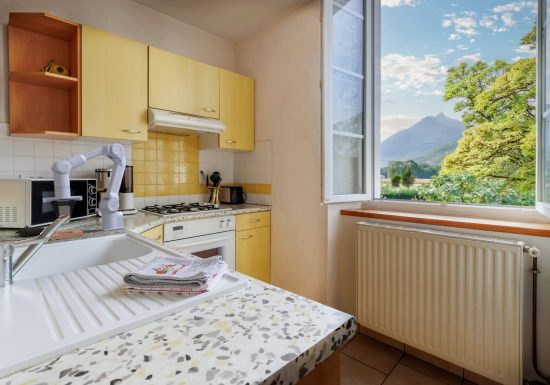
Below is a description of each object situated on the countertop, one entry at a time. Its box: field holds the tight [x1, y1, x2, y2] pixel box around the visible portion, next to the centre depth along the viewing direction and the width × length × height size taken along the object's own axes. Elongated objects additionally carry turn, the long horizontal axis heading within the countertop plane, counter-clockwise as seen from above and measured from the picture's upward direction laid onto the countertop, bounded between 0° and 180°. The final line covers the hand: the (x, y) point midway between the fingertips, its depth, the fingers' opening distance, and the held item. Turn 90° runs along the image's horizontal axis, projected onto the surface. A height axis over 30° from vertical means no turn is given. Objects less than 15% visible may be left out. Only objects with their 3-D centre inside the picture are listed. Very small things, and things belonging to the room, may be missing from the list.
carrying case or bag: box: [15, 226, 46, 238], centre depth 143 cm, size 11×3×15 cm
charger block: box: [58, 205, 71, 222], centre depth 136 cm, size 4×5×7 cm
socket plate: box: [51, 228, 85, 240], centre depth 135 cm, size 12×13×2 cm
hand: (64, 216), depth 136 cm, fingers closed on charger block, 4 cm apart
